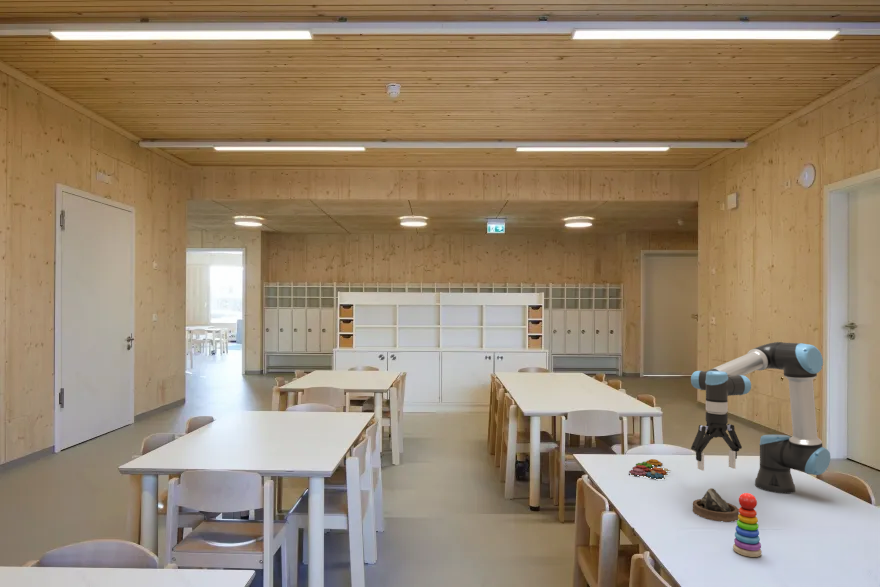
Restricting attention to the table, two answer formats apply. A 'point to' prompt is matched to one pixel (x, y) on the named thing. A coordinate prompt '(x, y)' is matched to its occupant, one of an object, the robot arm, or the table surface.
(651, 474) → the gear puzzle
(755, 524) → the stacking toy
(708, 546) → the table surface
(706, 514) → the round tray
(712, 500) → the grey brown rock
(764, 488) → the robot arm
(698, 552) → the table surface
